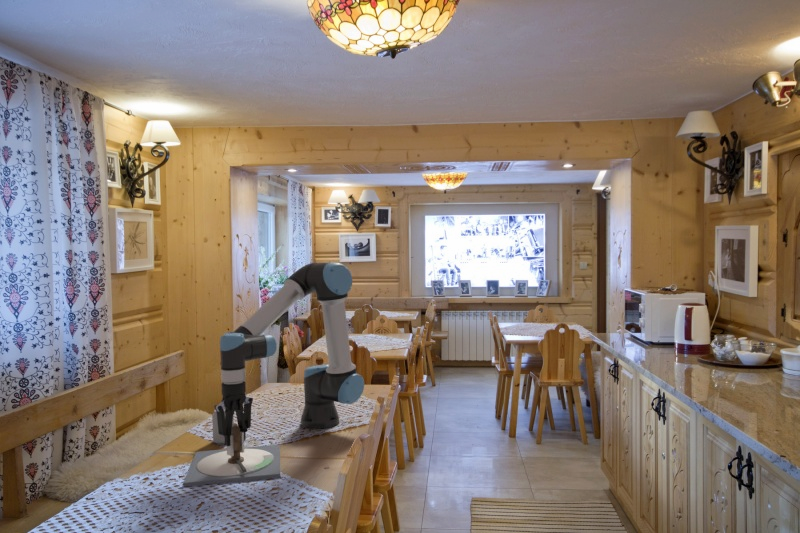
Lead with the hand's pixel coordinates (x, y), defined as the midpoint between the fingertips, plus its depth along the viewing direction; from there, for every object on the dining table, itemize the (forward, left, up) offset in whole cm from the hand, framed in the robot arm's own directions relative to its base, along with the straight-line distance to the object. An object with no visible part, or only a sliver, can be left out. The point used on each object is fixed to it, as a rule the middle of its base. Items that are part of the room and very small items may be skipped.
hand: (235, 453), depth 195 cm
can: (+6, -27, -4) cm, 28 cm away
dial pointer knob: (-1, +5, -2) cm, 5 cm away
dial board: (0, 0, -4) cm, 4 cm away
